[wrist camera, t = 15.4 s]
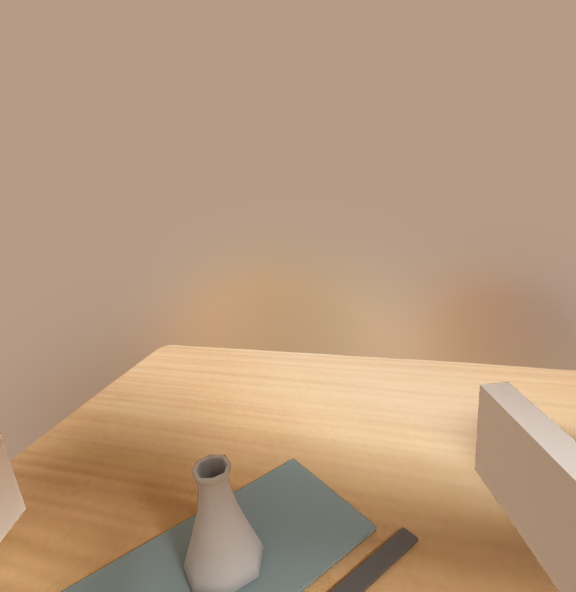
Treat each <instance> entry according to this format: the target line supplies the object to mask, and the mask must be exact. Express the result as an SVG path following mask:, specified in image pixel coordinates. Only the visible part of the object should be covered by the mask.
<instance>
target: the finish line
mask: <svg viewBox="0 0 576 592" xmlns="http://www.w3.org/2000/svg"><path fill="white" fill-rule="evenodd" d="M417 541H418V538H417V537H416V536H414V535H413V534H412V533H411V532H409V531H408V530H407V529H405V528H404V527H403V528H402V529H401V530H400V531H399V532H398V533H397V534H395V535H394V536H393V537H392V538H391V539H390V540H389V541H387V542H386V543H385V544H384V545H383V546H382V547H381V548H379V549H378V550H377V551H376V552H375V553H374V554H373V555H371V556H370V557H369V558H368V559H367V560H366V561H365V562H363V563H362V564H361V565H360V566H359V567H358V568H357V569H356V570H354V571H353V572H352V573H351V574H350V575H349V576H348V577H346V578H345V579H344V580H343V581H342V582H341V583H340V584H338V585H337V586H336V587H335V588H334V589H333V590H332V591H330V592H364V591H365V590H366V589H367V588H368V587H369V586H370V585H371V584H372V583H373V582H375V581H376V580H377V579H378V578H379V577H380V576H381V575H382V574H383V573H384V572H385V571H386V570H387V569H388V568H389V567H390V566H392V565H393V564H394V563H395V562H396V561H397V560H398V559H399V558H400V557H401V556H402V555H403V554H404V553H405V552H406V551H407V550H409V549H410V548H411V547H412V546H413V545H414V544H415V543H416V542H417Z"/></svg>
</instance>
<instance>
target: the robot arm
mask: <svg viewBox="0 0 576 592" xmlns="http://www.w3.org/2000/svg"><path fill="white" fill-rule="evenodd" d="M475 470H476V471H477V473H478V474H479V476H480V477H481V479H482V480H483V481H484V483H485V484H486V486H487V487H488V489H489V490H490V492H491V493H492V495H493V496H494V498H495V499H496V500H497V502H498V503H499V505H500V506H501V508H502V509H503V511H504V512H505V514H506V515H507V517H508V518H509V519H510V521H511V522H512V524H513V525H514V527H515V528H516V530H517V531H518V533H519V534H520V536H521V537H522V538H523V540H524V541H525V543H526V544H527V546H528V547H529V549H530V550H531V552H532V553H533V555H534V556H535V557H536V559H537V560H538V562H539V563H540V565H541V566H542V568H543V569H544V571H545V572H546V574H547V575H548V576H549V578H550V579H551V581H552V582H553V584H554V585H555V587H556V588H557V590H558V591H559V592H576V441H575V440H574V439H573V438H572V437H571V436H569V435H568V434H567V433H566V432H565V431H564V430H563V429H561V428H560V427H559V426H558V425H557V424H556V423H555V422H553V421H552V420H551V419H550V418H549V417H548V416H546V415H545V414H544V413H543V412H542V411H541V410H540V409H538V408H537V407H536V406H535V405H534V404H533V403H532V402H530V401H529V400H528V399H527V398H526V397H525V396H524V395H522V394H521V393H520V392H519V391H518V390H517V389H516V388H514V387H513V386H512V385H511V384H510V383H509V382H503V383H491V384H480V392H479V409H478V426H477V443H476V460H475ZM25 510H26V507H25V504H24V501H23V498H22V495H21V492H20V489H19V486H18V483H17V480H16V478H15V475H14V472H13V469H12V466H11V463H10V460H9V457H8V454H7V451H6V448H5V445H4V443H3V439H2V437H1V434H0V542H1V541H2V539H3V538H4V537H5V536H6V534H7V533H8V532H9V530H10V529H11V528H12V526H13V525H14V524H15V523H16V521H17V520H18V519H19V517H20V516H21V515H22V513H23V512H24V511H25Z"/></svg>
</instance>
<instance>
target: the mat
mask: <svg viewBox="0 0 576 592" xmlns="http://www.w3.org/2000/svg"><path fill="white" fill-rule="evenodd" d="M234 496H235V499H236V501H237V503H238V505H239V506H240V508H241V510H242V512H243V513H244V515H245V517H246V519H247V520H248V522H249V524H250V525H251V527H252V528H253V530H254V532H255V533H256V535H257V536H258V538H259V540H260V541H261V543H262V545H263V546H264V550H263V555H262V561H261V567H260V572H259V577H258V578H256V579H255V580H253V581H251V582H250V583H248V584H246V585H245V586H243V587H242V588H240V589H238V590H237V591H235V592H302V591H303V590H304V589H306V588H307V587H308V586H309V585H310V584H312V583H313V582H314V581H315V580H316V579H318V578H319V577H320V576H321V575H322V574H324V573H325V572H326V571H327V570H328V569H330V568H331V567H332V566H333V565H334V564H336V563H337V562H338V561H339V560H340V559H342V558H343V557H344V556H345V555H346V554H348V553H349V552H350V551H351V550H353V549H354V548H355V547H356V546H357V545H359V544H360V543H361V542H362V541H363V540H365V539H366V538H367V537H368V536H369V535H371V534H372V533H373V532H374V531H375V530H376V525H375V524H373V523H372V522H371V521H370V520H368V519H367V518H366V517H365V516H363V515H362V514H361V513H360V512H359V511H357V510H356V509H355V508H354V507H352V506H351V505H350V504H349V503H348V502H346V501H345V500H344V499H343V498H341V497H340V496H339V495H338V494H336V493H335V492H334V491H333V490H332V489H330V488H329V487H328V486H327V485H325V484H324V483H323V482H322V481H321V480H319V479H318V478H317V477H316V476H314V475H313V474H312V473H311V472H309V471H308V470H307V469H306V468H305V467H303V466H302V465H301V464H300V463H298V462H297V461H296V460H295V459H294V458H293V459H292V460H290V461H288V462H286V463H285V464H283V465H281V466H279V467H278V468H276V469H274V470H272V471H271V472H269V473H267V474H265V475H264V476H262V477H260V478H259V479H257V480H255V481H253V482H252V483H250V484H248V485H246V486H245V487H243V488H241V489H239V490H238V491H236V492H234ZM195 519H196V515H194V516H192V517H190V518H189V519H187V520H185V521H184V522H182V523H180V524H178V525H177V526H175V527H173V528H171V529H170V530H168V531H166V532H164V533H163V534H161V535H159V536H157V537H156V538H154V539H152V540H150V541H149V542H147V543H145V544H143V545H142V546H140V547H138V548H136V549H135V550H133V551H131V552H129V553H128V554H126V555H124V556H122V557H121V558H119V559H117V560H115V561H114V562H112V563H110V564H108V565H107V566H105V567H103V568H102V569H100V570H98V571H96V572H95V573H93V574H91V575H89V576H88V577H86V578H84V579H82V580H81V581H79V582H77V583H75V584H74V585H72V586H70V587H68V588H67V589H65V590H63V591H61V592H193V591H192V589H191V586H190V583H189V581H188V578H187V575H186V573H185V570H184V568H183V567H184V563H185V559H186V555H187V551H188V547H189V544H190V540H191V536H192V532H193V527H194V523H195Z"/></svg>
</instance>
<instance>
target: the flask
mask: <svg viewBox="0 0 576 592" xmlns="http://www.w3.org/2000/svg"><path fill="white" fill-rule="evenodd" d="M230 469H231V463H230V461H229V460H228V458H227V457H226V456H225V455H209V456H207V457H205V458H202V459H200V460H197V462H196V464H195V466H194V468H193V470H192V473H193V476H194V477H195V479H196V481H197V483H198V489H199V495H198V510H197V514H196V519H195V523H194V527H193V532H192V536H191V540H190V544H189V547H188V551H187V555H186V559H185V563H184V567H183V568H184V570H185V573H186V575H187V578H188V581H189V583H190V586H191V589H192V591H193V592H235V591H237V590H238V589H240V588H242V587H243V586H245V585H246V584H248V583H250V582H251V581H253V580H255V579H256V578H258V577H259V572H260V567H261V561H262V555H263V550H264V546H263V545H262V543H261V541H260V540H259V538H258V536H257V535H256V533H255V532H254V530H253V528H252V527H251V525H250V524H249V522H248V520H247V519H246V517H245V515H244V513H243V512H242V510H241V508H240V506H239V505H238V503H237V501H236V499H235V496H234V493H233V490H232V488H231V485H230V479H229V472H230Z"/></svg>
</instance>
